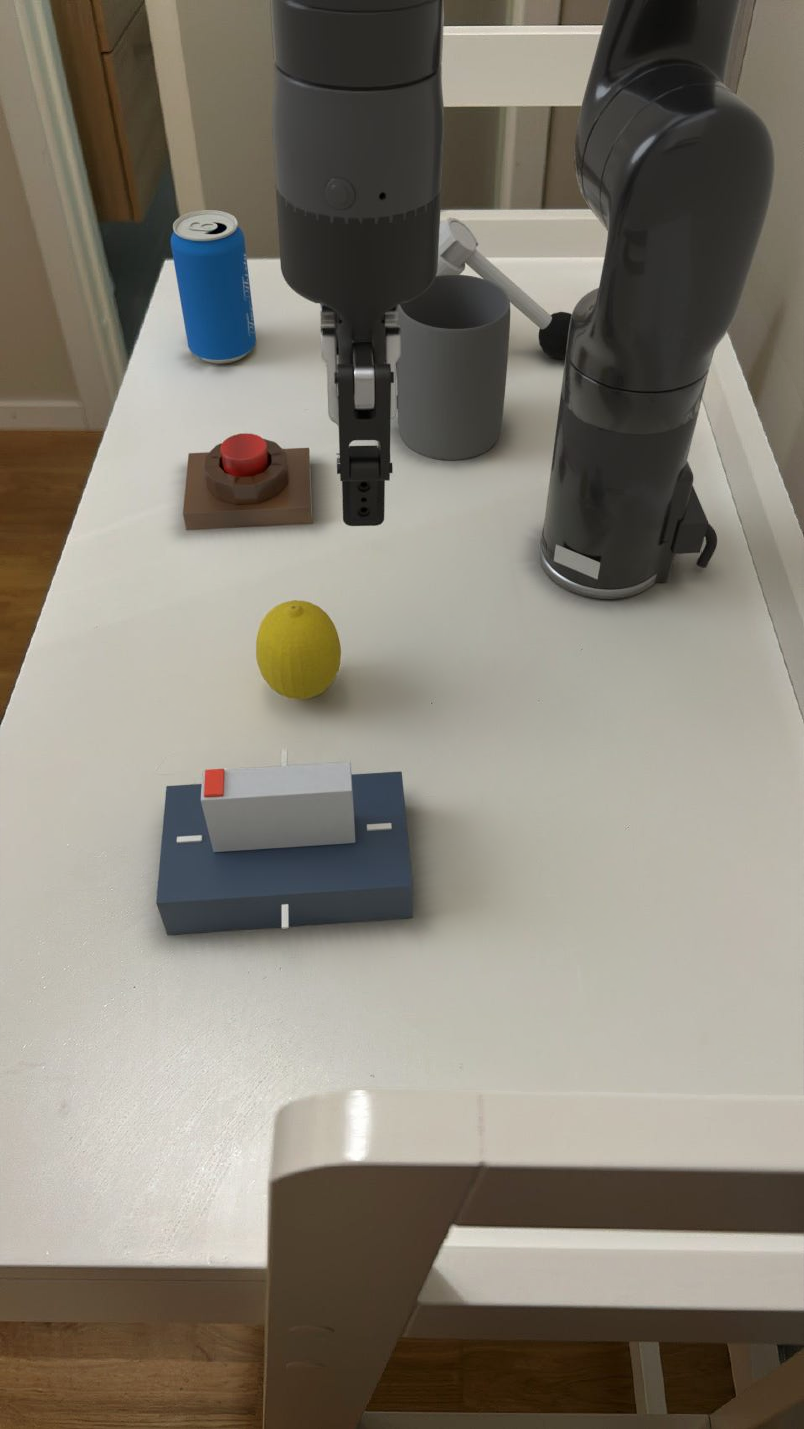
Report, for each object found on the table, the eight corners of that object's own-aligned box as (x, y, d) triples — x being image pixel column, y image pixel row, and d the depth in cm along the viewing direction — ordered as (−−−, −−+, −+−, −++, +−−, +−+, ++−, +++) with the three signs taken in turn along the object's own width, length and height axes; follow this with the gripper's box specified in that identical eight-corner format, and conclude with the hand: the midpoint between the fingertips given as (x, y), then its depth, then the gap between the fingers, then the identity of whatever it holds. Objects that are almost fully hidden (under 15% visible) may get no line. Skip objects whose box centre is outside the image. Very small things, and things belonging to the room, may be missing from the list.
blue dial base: (399, 778, 67) (399, 742, 64) (415, 951, 59) (416, 918, 56) (178, 792, 66) (168, 756, 63) (164, 968, 58) (152, 936, 55)
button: (268, 450, 85) (266, 432, 83) (268, 477, 82) (266, 458, 81) (224, 452, 84) (221, 434, 83) (222, 479, 82) (219, 461, 81)
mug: (498, 402, 95) (508, 273, 85) (504, 462, 89) (515, 330, 79) (348, 402, 95) (342, 273, 86) (343, 462, 89) (336, 331, 80)
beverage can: (245, 371, 98) (229, 244, 89) (180, 364, 99) (157, 237, 90) (265, 336, 102) (251, 211, 93) (202, 329, 103) (182, 205, 94)
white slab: (353, 814, 60) (350, 758, 57) (355, 843, 59) (352, 787, 55) (215, 823, 60) (201, 767, 56) (213, 852, 59) (199, 797, 55)
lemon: (252, 677, 72) (238, 591, 66) (327, 654, 74) (319, 568, 68) (277, 733, 69) (265, 648, 63) (355, 708, 71) (350, 622, 64)
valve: (480, 462, 104) (594, 368, 95) (321, 342, 95) (430, 224, 85) (483, 397, 111) (591, 303, 101) (334, 279, 101) (437, 162, 91)
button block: (310, 464, 88) (307, 428, 86) (312, 524, 83) (309, 488, 81) (191, 470, 88) (184, 434, 85) (186, 530, 83) (178, 494, 80)
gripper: (456, 247, 42) (437, 555, 55) (429, 115, 52) (418, 403, 64) (270, 247, 42) (293, 558, 54) (277, 114, 51) (295, 405, 64)
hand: (360, 474), depth 59 cm, fingers open, 8 cm apart
